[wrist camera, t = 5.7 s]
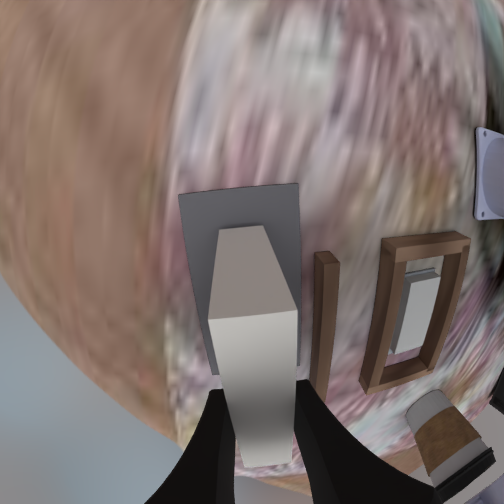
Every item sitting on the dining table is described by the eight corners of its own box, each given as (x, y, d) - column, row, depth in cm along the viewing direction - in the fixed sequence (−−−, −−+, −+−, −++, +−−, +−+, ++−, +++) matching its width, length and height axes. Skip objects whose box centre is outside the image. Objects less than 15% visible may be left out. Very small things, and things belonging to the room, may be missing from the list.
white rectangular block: (262, 225, 15) (297, 310, 7) (271, 360, 19) (291, 462, 11) (219, 229, 15) (207, 319, 7) (238, 364, 19) (244, 467, 11)
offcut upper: (433, 271, 18) (440, 276, 18) (417, 339, 21) (422, 345, 20) (404, 277, 18) (411, 283, 17) (389, 347, 21) (394, 354, 20)
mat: (297, 183, 16) (298, 183, 15) (298, 363, 21) (299, 365, 20) (179, 194, 16) (178, 195, 15) (212, 372, 20) (212, 375, 20)
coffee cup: (408, 395, 25) (461, 489, 11) (457, 374, 25) (512, 450, 11) (389, 431, 28) (426, 512, 13) (435, 412, 28) (476, 481, 14)
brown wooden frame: (455, 231, 18) (471, 238, 16) (423, 361, 23) (432, 372, 21) (314, 245, 17) (324, 256, 15) (308, 391, 22) (313, 407, 20)
